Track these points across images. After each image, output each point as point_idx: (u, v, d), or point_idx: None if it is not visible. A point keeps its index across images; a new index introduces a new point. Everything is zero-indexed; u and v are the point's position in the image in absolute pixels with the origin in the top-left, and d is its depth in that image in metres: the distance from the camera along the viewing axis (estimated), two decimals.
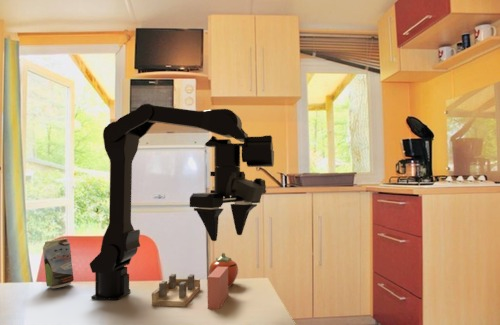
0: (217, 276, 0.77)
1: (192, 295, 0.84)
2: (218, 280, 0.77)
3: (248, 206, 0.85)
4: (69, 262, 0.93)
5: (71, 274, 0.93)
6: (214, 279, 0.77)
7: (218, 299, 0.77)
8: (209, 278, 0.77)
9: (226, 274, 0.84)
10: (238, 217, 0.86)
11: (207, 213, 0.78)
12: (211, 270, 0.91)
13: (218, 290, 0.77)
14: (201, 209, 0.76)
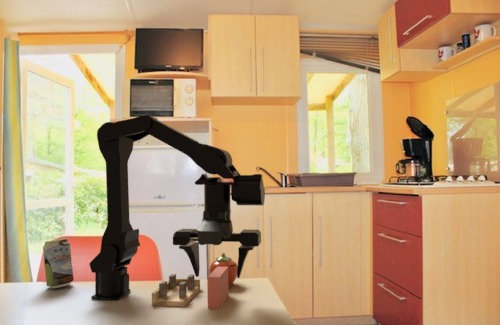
0: (217, 276, 0.77)
1: (192, 295, 0.84)
2: (218, 280, 0.77)
3: None
4: (69, 262, 0.93)
5: (71, 274, 0.93)
6: (214, 279, 0.77)
7: (218, 299, 0.77)
8: (209, 278, 0.77)
9: (226, 274, 0.84)
10: None
11: None
12: (211, 270, 0.91)
13: (218, 290, 0.77)
14: None
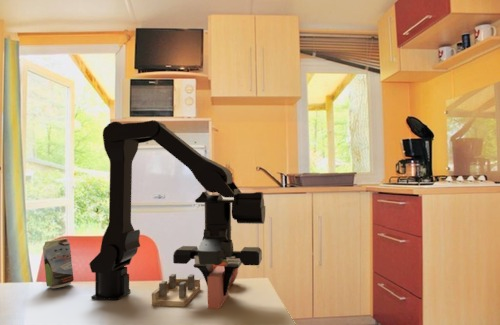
0: (217, 276, 0.77)
1: (192, 295, 0.84)
2: (218, 280, 0.77)
3: None
4: (69, 262, 0.93)
5: (71, 274, 0.93)
6: (214, 279, 0.77)
7: (218, 299, 0.77)
8: (209, 278, 0.77)
9: None
10: None
11: None
12: None
13: (218, 290, 0.77)
14: None
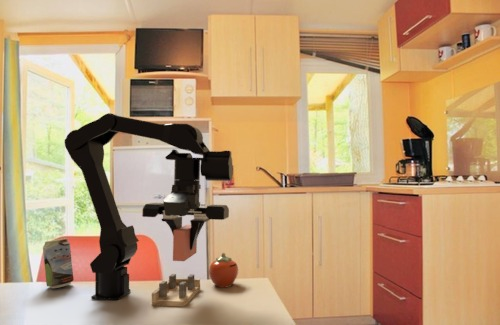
0: (183, 230, 0.80)
1: (192, 295, 0.84)
2: (183, 233, 0.80)
3: None
4: (69, 262, 0.93)
5: (71, 274, 0.93)
6: (180, 232, 0.80)
7: (183, 251, 0.79)
8: (175, 231, 0.80)
9: None
10: None
11: None
12: (211, 270, 0.91)
13: (183, 243, 0.80)
14: None
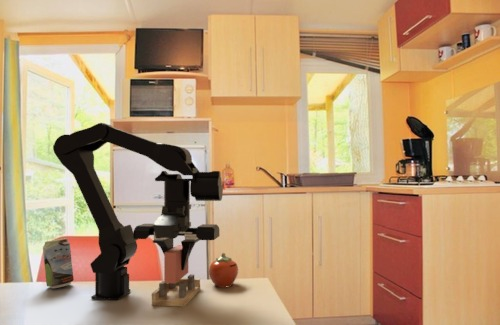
0: (174, 252, 0.81)
1: (192, 295, 0.84)
2: (174, 255, 0.80)
3: None
4: (69, 262, 0.93)
5: (71, 274, 0.93)
6: (171, 254, 0.80)
7: (174, 273, 0.80)
8: (166, 253, 0.80)
9: None
10: None
11: None
12: (211, 270, 0.91)
13: (174, 265, 0.80)
14: None
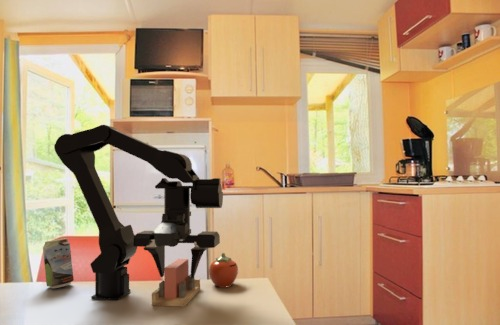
0: (174, 267, 0.81)
1: (192, 295, 0.84)
2: (174, 271, 0.80)
3: None
4: (69, 262, 0.93)
5: (71, 274, 0.93)
6: (171, 270, 0.80)
7: (174, 289, 0.80)
8: (166, 269, 0.80)
9: (186, 266, 0.87)
10: None
11: None
12: (211, 270, 0.91)
13: (174, 280, 0.80)
14: None
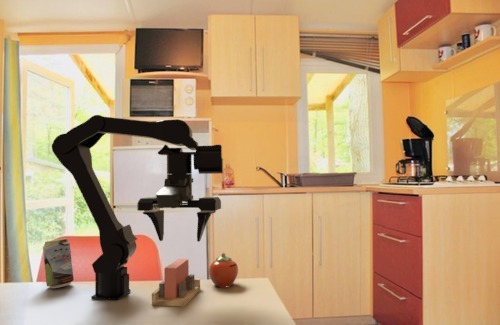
0: (174, 267, 0.81)
1: (192, 295, 0.84)
2: (174, 271, 0.80)
3: None
4: (69, 262, 0.93)
5: (71, 274, 0.93)
6: (171, 270, 0.80)
7: (174, 289, 0.80)
8: (166, 269, 0.80)
9: (186, 266, 0.87)
10: None
11: None
12: (211, 270, 0.91)
13: (174, 280, 0.80)
14: None
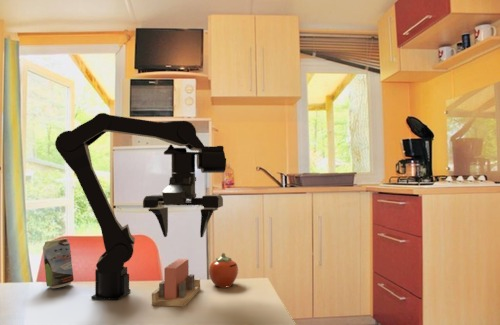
0: (174, 267, 0.81)
1: (192, 295, 0.84)
2: (174, 271, 0.80)
3: None
4: (69, 262, 0.93)
5: (71, 274, 0.93)
6: (171, 270, 0.80)
7: (174, 289, 0.80)
8: (166, 269, 0.80)
9: (186, 266, 0.87)
10: None
11: None
12: (211, 270, 0.91)
13: (174, 280, 0.80)
14: None
